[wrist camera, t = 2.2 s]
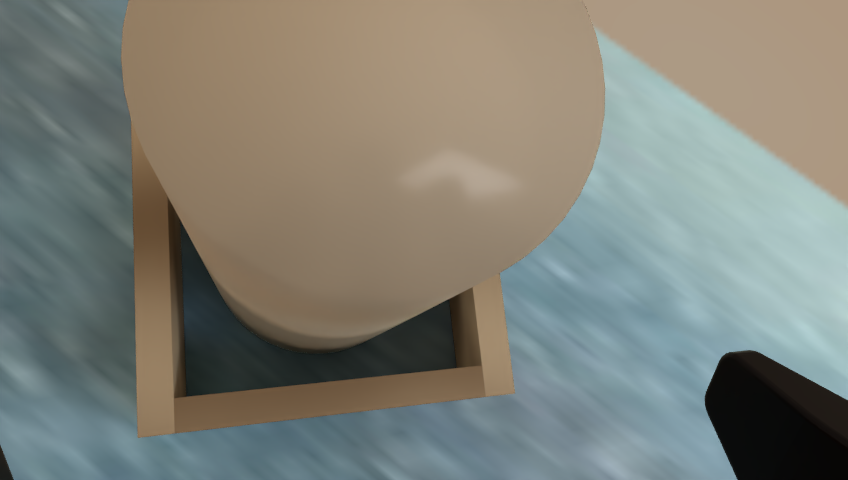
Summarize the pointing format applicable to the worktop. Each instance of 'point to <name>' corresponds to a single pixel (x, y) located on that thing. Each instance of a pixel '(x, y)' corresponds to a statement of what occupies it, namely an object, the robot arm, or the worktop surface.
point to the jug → (362, 147)
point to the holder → (175, 413)
